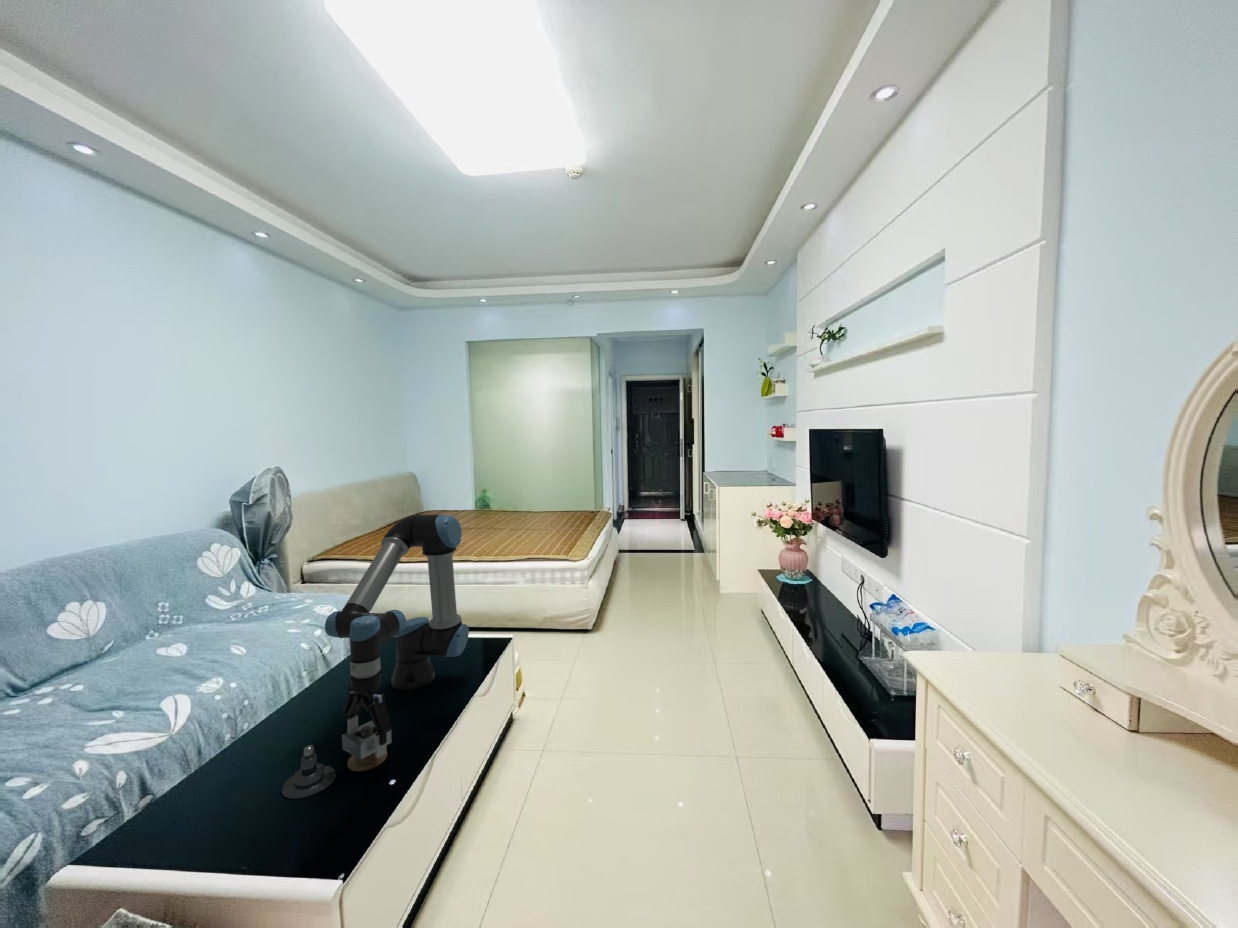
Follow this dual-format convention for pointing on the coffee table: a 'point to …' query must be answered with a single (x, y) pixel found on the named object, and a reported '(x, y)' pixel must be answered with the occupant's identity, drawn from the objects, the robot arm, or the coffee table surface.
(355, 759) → the stand
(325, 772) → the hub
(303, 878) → the coffee table surface
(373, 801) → the coffee table surface
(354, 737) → the collar
